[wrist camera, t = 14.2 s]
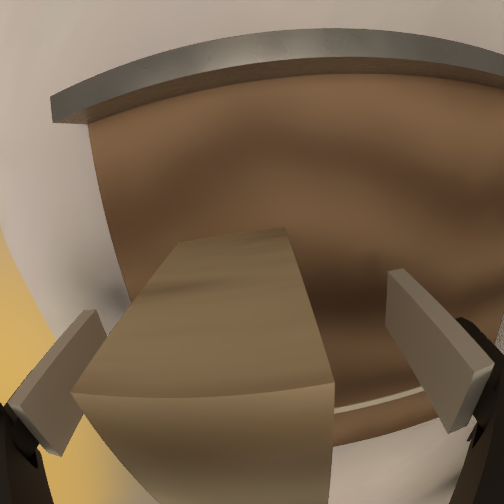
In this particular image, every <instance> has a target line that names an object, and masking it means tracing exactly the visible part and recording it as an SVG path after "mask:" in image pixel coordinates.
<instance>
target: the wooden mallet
mask: <svg viewBox="0 0 504 504" xmlns="http://www.w3.org/2000/svg"><path fill="white" fill-rule="evenodd" d="M70 393H71V395H72V396H73V398H74V399H75V401H76V402H77V404H78V406H79V407H80V409H81V410H82V412H83V413H84V414H85V416H86V417H87V419H88V420H89V422H90V423H91V424H92V426H93V427H94V429H95V430H96V431H97V433H98V434H99V435H100V437H101V438H102V439H103V441H104V442H105V443H106V445H107V446H108V447H109V448H110V450H111V451H112V452H113V453H114V455H115V456H116V457H117V458H118V459H119V461H120V462H121V463H122V464H123V465H124V467H125V468H126V469H127V470H128V471H129V472H130V473H131V474H132V475H133V477H134V478H135V479H136V480H137V481H138V482H139V483H140V484H141V485H142V486H143V487H144V488H145V490H147V492H148V493H149V494H150V495H151V496H152V497H153V498H154V499H155V500H156V501H157V502H158V503H160V504H328V498H329V488H330V477H331V464H332V448H333V429H334V398H335V381H334V378H333V375H332V371H331V368H330V365H329V361H328V358H327V355H326V351H325V348H324V345H323V342H322V339H321V335H320V332H319V329H318V326H317V323H316V319H315V316H314V313H313V310H312V307H311V304H310V301H309V298H308V295H307V292H306V289H305V286H304V283H303V280H302V277H301V274H300V271H299V268H298V265H297V262H296V259H295V256H294V253H293V250H292V247H291V244H290V241H289V239H288V236H287V233H286V230H285V227H284V226H283V227H276V228H269V229H262V230H255V231H249V232H242V233H235V234H229V235H222V236H216V237H209V238H203V239H197V240H191V241H184V242H179V243H178V244H177V245H176V246H175V248H174V249H173V250H172V251H171V253H170V254H169V255H168V256H167V258H166V259H165V260H164V262H163V263H162V264H161V265H160V267H159V268H158V269H157V271H156V272H155V273H154V274H153V276H152V277H151V278H150V280H149V281H148V282H147V284H146V285H145V286H144V288H143V289H142V290H141V291H140V293H139V294H138V295H137V297H136V298H135V299H134V301H133V302H132V304H131V305H130V306H129V308H128V309H127V310H126V312H125V313H124V314H123V316H122V317H121V319H120V320H119V321H118V323H117V324H116V325H115V327H114V328H113V330H112V331H111V332H110V334H109V335H108V337H107V338H106V340H105V341H104V342H103V344H102V345H101V347H100V348H99V350H98V351H97V353H96V354H95V355H94V357H93V358H92V360H91V361H90V363H89V364H88V366H87V367H86V369H85V370H84V372H83V373H82V375H81V376H80V378H79V379H78V381H77V382H76V384H75V385H74V387H73V388H72V390H71V392H70Z"/></svg>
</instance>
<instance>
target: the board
mask: <svg viewBox="0 0 504 504" xmlns="http://www.w3.org/2000/svg"><path fill="white" fill-rule="evenodd" d="M50 100H51V111H52V120H53V123H71V124H88V129H89V136H90V142H91V148H92V154H93V160H94V165H95V170H96V175H97V180H98V185H99V190H100V194H101V199H102V203H103V207H104V211H105V216H106V220H107V224H108V227H109V231H110V235H111V239H112V242H113V246H114V249H115V253H116V256H117V260H118V263H119V266H120V269H121V273H122V276H123V279H124V282H125V285H126V288H127V291H128V294H129V297H130V300H131V303H132V302H133V301H134V299H135V298H136V297H137V295H138V294H139V293H140V291H141V290H142V289H143V288H144V286H145V285H146V284H147V282H148V281H149V280H150V278H151V277H152V276H153V274H154V273H155V272H156V271H157V269H158V268H159V267H160V265H161V264H162V263H163V262H164V260H165V259H166V258H167V256H168V255H169V254H170V253H171V251H172V250H173V249H174V248H175V246H176V245H177V244H178V243H179V242H184V241H191V240H197V239H203V238H209V237H216V236H222V235H229V234H235V233H242V232H249V231H255V230H262V229H269V228H276V227H283V226H284V227H285V230H286V233H287V236H288V239H289V241H290V244H291V247H292V250H293V253H294V256H295V259H296V262H297V265H298V268H299V271H300V274H301V277H302V280H303V283H304V286H305V289H306V292H307V295H308V298H309V301H310V304H311V307H312V310H313V313H314V316H315V319H316V323H317V326H318V329H319V332H320V335H321V339H322V342H323V345H324V348H325V351H326V355H327V358H328V361H329V365H330V368H331V371H332V375H333V378H334V381H335V398H334V429H333V447H334V446H339V445H344V444H349V443H353V442H357V441H362V440H366V439H370V438H374V437H378V436H381V435H385V434H389V433H392V432H396V431H399V430H402V429H405V428H408V427H412V426H415V425H418V424H421V423H423V422H426V421H429V420H432V419H434V418H437V417H439V416H438V414H437V413H436V411H435V409H434V407H433V405H432V403H431V402H430V400H429V398H428V396H427V395H426V393H425V391H424V389H423V388H422V386H421V384H420V382H419V381H418V379H417V377H416V375H415V374H414V372H413V370H412V369H411V367H410V365H409V364H408V362H407V360H406V359H405V357H404V355H403V354H402V352H401V350H400V349H399V347H398V346H397V344H396V342H395V341H394V339H393V338H392V336H391V334H390V333H389V331H388V330H387V328H386V326H385V318H386V301H387V275H388V271H391V270H397V269H402V268H403V269H405V270H406V271H407V272H408V273H409V274H410V275H411V276H412V277H413V278H414V279H415V280H416V281H417V282H418V283H419V284H420V285H421V286H422V287H423V288H424V289H425V290H426V291H427V292H429V293H430V294H431V295H432V296H433V297H434V298H435V299H436V300H437V301H438V302H439V303H440V304H441V305H442V306H443V307H444V309H445V310H446V311H447V312H448V313H449V314H450V315H451V316H452V317H453V318H454V319H456V318H459V317H463V318H465V319H467V320H469V321H471V322H473V323H474V324H475V325H476V326H477V327H478V328H479V329H480V330H481V332H483V334H484V335H485V336H486V337H487V339H489V340H490V341H491V342H492V343H493V344H495V341H496V338H497V335H498V331H499V328H500V324H501V321H502V317H503V313H504V55H502V54H499V53H496V52H493V51H490V50H486V49H483V48H479V47H475V46H472V45H468V44H464V43H459V42H455V41H450V40H446V39H441V38H435V37H430V36H424V35H417V34H410V33H402V32H393V31H383V30H369V29H343V28H323V29H297V30H283V31H272V32H263V33H255V34H247V35H240V36H234V37H228V38H222V39H217V40H212V41H207V42H202V43H198V44H193V45H189V46H185V47H181V48H177V49H173V50H169V51H166V52H162V53H159V54H155V55H152V56H149V57H146V58H142V59H139V60H136V61H133V62H130V63H128V64H125V65H122V66H119V67H116V68H114V69H111V70H109V71H106V72H103V73H101V74H98V75H96V76H94V77H91V78H89V79H87V80H84V81H82V82H80V83H78V84H75V85H73V86H71V87H69V88H67V89H65V90H63V91H61V92H59V93H57V94H55V95H53V96H51V97H50Z"/></svg>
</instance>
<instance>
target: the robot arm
mask: <svg viewBox="0 0 504 504" xmlns="http://www.w3.org/2000/svg"><path fill="white" fill-rule="evenodd" d="M385 326H386V328H387V330H388V331H389V333H390V334H391V336H392V338H393V339H394V341H395V342H396V344H397V346H398V347H399V349H400V350H401V352H402V354H403V355H404V357H405V359H406V360H407V362H408V364H409V365H410V367H411V369H412V370H413V372H414V374H415V375H416V377H417V379H418V381H419V382H420V384H421V386H422V388H423V389H424V391H425V393H426V395H427V396H428V398H429V400H430V402H431V403H432V405H433V407H434V409H435V411H436V413H437V414H438V416H439V418H440V420H441V422H442V424H443V426H444V428H445V429H446V431H447V433H448V434H449V433H452V432H454V431H456V430H459V429H461V428H463V427H465V426H467V424H468V422H469V421H470V419H471V417H472V415H474V417H475V418H476V420H477V423H476V425H475V427H474V429H473V430H472V432H471V434H470V436H469V438H468V439H467V441H470V440H471V442H470V446H469V449H468V452H467V456H466V459H465V462H464V465H463V468H462V471H461V474H460V477H459V479H458V482H457V485H456V487H455V490H454V492H453V495H452V497H451V500H450V502H449V504H504V355H503V354H502V353H501V352H500V350H499V349H498V348H497V347H496V346H495V345H494V344H493V343H492V342H491V341H490V340H489V339H487V337H486V336H485V335H484V334H483V332H481V330H480V329H479V328H478V327H477V326H476V325H475V324H474V323H473V322H471V321H469V320H467V319H465V318H463V317H459V318H456V319H454V318H453V317H452V316H451V315H450V314H449V313H448V312H447V311H446V310H445V309H444V307H443V306H442V305H441V304H440V303H439V302H438V301H437V300H436V299H435V298H434V297H433V296H432V295H431V294H430V293H429V292H427V291H426V290H425V289H424V288H423V287H422V286H421V285H420V284H419V283H418V282H417V281H416V280H415V279H414V278H413V277H412V276H411V275H410V274H409V273H408V272H407V271H406V270H405V269H403V268H402V269H397V270H391V271H388V275H387V301H386V318H385ZM106 338H107V335H106V333H105V330H104V328H103V326H102V323H101V321H100V318H99V316H98V313H97V311H96V310H84V311H83V312H82V313H81V314H80V315H79V316H78V317H77V319H76V320H75V321H74V322H73V323H72V324H71V325H70V326H69V328H68V329H67V330H66V331H65V332H64V333H63V334H62V335H61V337H60V338H59V339H58V340H57V341H56V342H55V344H54V345H53V346H52V347H51V348H50V349H49V351H48V352H47V353H46V354H45V356H44V357H43V358H42V359H41V360H40V362H39V363H38V364H37V365H36V366H35V368H34V369H33V370H32V371H31V372H30V373H29V374H28V376H27V377H26V379H25V380H24V381H23V382H22V383H21V385H20V386H19V387H18V388H17V390H16V391H15V392H14V394H13V395H12V396H11V398H10V399H9V400H8V402H7V403H6V404H5V406H4V407H3V406H2V404H1V403H0V504H54V503H53V499H52V496H51V493H50V489H49V486H48V481H47V478H46V474H45V469H44V465H43V461H42V456H41V453H40V451H39V450H38V449H37V446H38V445H39V443H40V444H41V445H42V447H43V448H44V449H45V450H46V451H47V452H48V453H51V454H54V455H57V456H60V457H61V456H62V455H63V453H64V451H65V449H66V446H67V445H68V443H69V441H70V439H71V437H72V435H73V433H74V431H75V429H76V427H77V425H78V423H79V421H80V420H81V418H82V416H83V414H84V413H83V412H82V410H81V409H80V407H79V406H78V404H77V402H76V401H75V399H74V398H73V396H72V395H71V393H70V392H71V390H72V388H73V387H74V385H75V384H76V382H77V381H78V379H79V378H80V376H81V375H82V373H83V372H84V370H85V369H86V367H87V366H88V364H89V363H90V361H91V360H92V358H93V357H94V355H95V354H96V353H97V351H98V350H99V348H100V347H101V345H102V344H103V342H104V341H105V340H106Z"/></svg>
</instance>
